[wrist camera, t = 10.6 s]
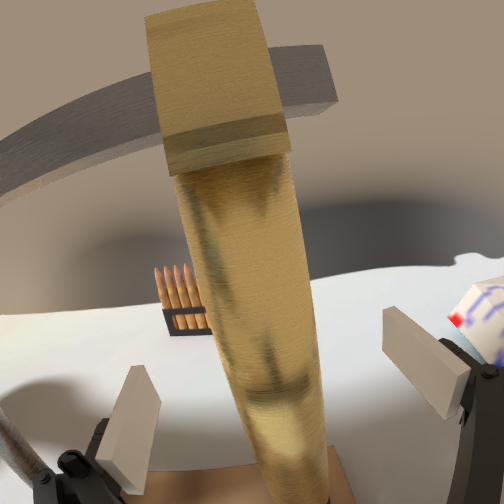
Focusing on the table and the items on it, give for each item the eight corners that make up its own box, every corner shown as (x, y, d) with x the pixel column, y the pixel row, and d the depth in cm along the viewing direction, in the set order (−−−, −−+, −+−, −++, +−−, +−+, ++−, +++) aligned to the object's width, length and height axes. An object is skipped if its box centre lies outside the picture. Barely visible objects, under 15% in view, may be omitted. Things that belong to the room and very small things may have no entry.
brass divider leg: (280, 530, 12) (134, 20, 6) (272, 485, 16) (162, 69, 10) (335, 517, 12) (263, -5, 6) (321, 474, 16) (251, 51, 10)
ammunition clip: (232, 327, 46) (214, 257, 43) (229, 333, 44) (210, 261, 41) (174, 330, 48) (153, 266, 45) (170, 336, 47) (148, 269, 44)
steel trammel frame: (50, 510, 12) (-109, 236, 6) (59, 488, 15) (-82, 227, 9) (357, 506, 13) (327, 38, 7) (345, 476, 16) (303, 70, 10)
